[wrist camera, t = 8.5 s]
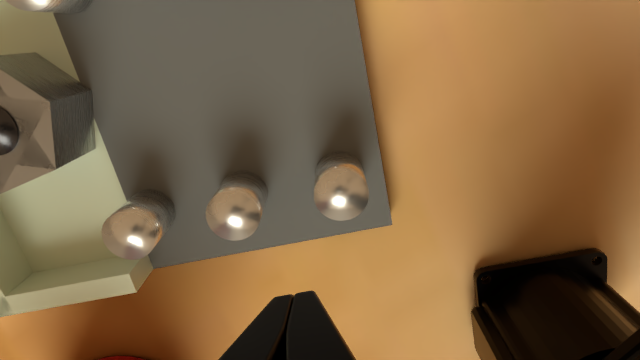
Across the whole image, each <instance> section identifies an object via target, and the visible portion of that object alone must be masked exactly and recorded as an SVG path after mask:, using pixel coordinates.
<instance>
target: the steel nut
mask: <svg viewBox="0 0 640 360" xmlns="http://www.w3.org/2000/svg"><path fill="white" fill-rule="evenodd" d="M94 149H96V144H95V127H94V109H93V92H92V90H91V89H90V88H88V87H87V86H85V85H84V84H82V83H81V82H79V81H78V80H76V79H75V78H73V77H72V76H70V75H69V74H67V73H66V72H64V71H63V70H61V69H60V68H58V67H57V66H56V65H54V64H53V63H51V62H50V61H48V60H47V59H45V58H44V57H42V56H41V55H39V54H38V53H36V52H33V53H21V54H8V55H0V194H2V193H4V192H6V191H8V190H11V189H13V188H15V187H18V186H20V185H22V184H24V183H27V182H29V181H31V180H33V179H36V178H38V177H40V176H42V175H45V174H47V173H49V172H52V171H54V170H56V169H58V168H60V167H62V166H64V165H66V164H67V163H69V162H71V161H73V160H75V159H77V158H79V157H81V156H83V155H85V154H87V153H88V152H90V151H92V150H94Z"/></svg>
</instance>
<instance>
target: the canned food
mask: <svg viewBox="0 0 640 360" xmlns="http://www.w3.org/2000/svg"><path fill="white" fill-rule="evenodd" d="M98 360H145V359H142V358H136V357H131V356H113V357H105V358H101V359H98Z"/></svg>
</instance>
